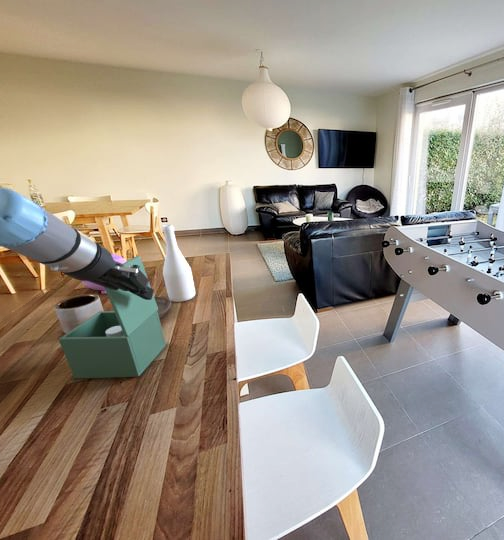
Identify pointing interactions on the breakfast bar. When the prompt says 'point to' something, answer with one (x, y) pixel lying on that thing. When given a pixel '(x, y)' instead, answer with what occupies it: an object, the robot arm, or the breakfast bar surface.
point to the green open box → (111, 347)
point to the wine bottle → (176, 270)
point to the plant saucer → (162, 305)
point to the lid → (131, 304)
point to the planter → (77, 310)
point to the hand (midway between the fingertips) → (149, 294)
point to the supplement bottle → (114, 332)
